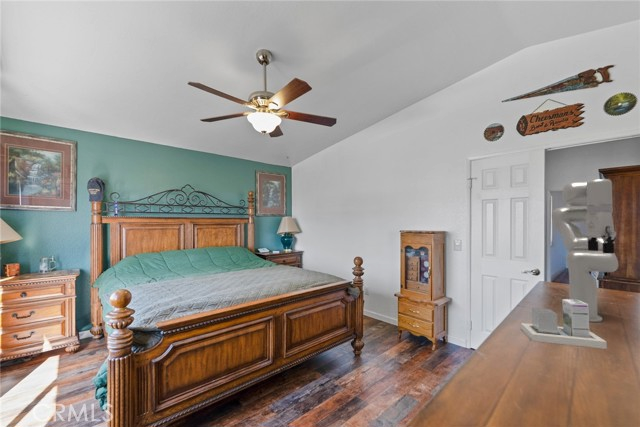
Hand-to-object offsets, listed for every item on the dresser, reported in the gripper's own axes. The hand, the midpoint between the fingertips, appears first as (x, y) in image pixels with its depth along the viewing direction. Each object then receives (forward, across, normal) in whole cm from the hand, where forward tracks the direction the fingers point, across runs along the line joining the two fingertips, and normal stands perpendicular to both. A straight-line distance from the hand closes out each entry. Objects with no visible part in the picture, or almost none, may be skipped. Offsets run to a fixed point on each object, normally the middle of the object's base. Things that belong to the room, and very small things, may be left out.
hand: (600, 251), depth 115 cm
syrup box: (+32, +12, -14) cm, 37 cm away
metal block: (+32, +12, -24) cm, 42 cm away
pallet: (+33, +12, -19) cm, 40 cm away
